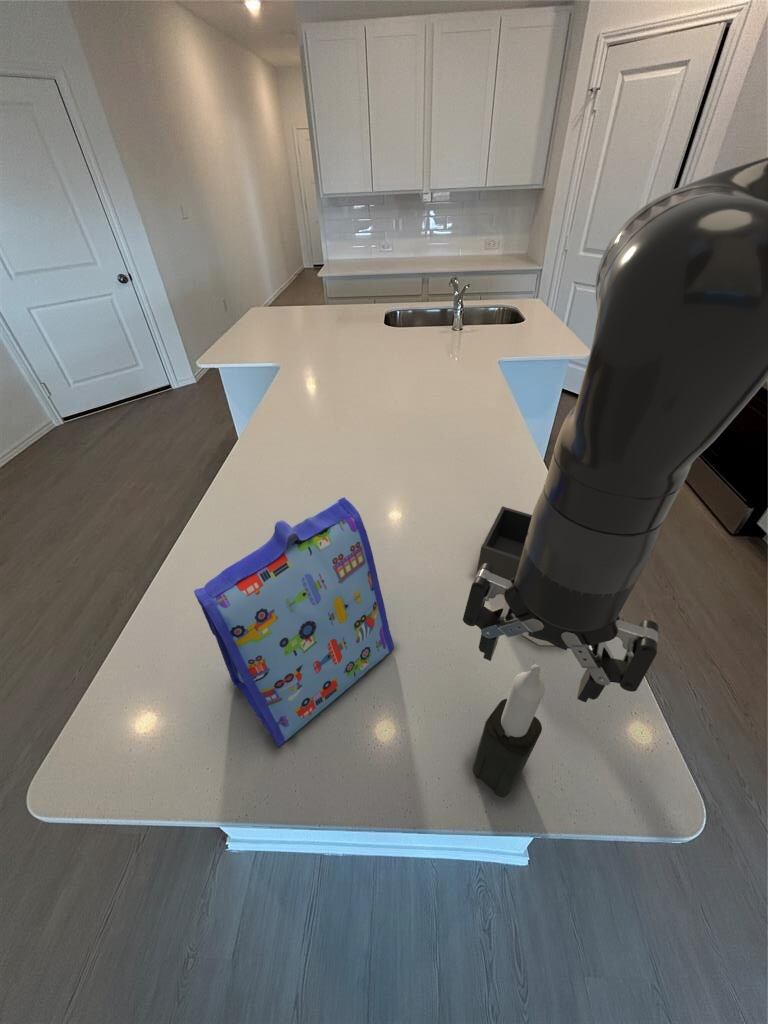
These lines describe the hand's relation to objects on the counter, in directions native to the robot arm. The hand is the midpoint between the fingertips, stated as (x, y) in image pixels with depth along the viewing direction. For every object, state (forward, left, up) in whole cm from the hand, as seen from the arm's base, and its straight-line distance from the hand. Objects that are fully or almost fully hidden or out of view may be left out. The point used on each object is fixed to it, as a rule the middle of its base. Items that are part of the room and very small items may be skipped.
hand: (534, 671), depth 41 cm
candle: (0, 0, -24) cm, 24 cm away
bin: (+7, -36, -24) cm, 44 cm away
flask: (0, -24, -24) cm, 34 cm away
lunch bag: (+29, -1, -24) cm, 38 cm away
